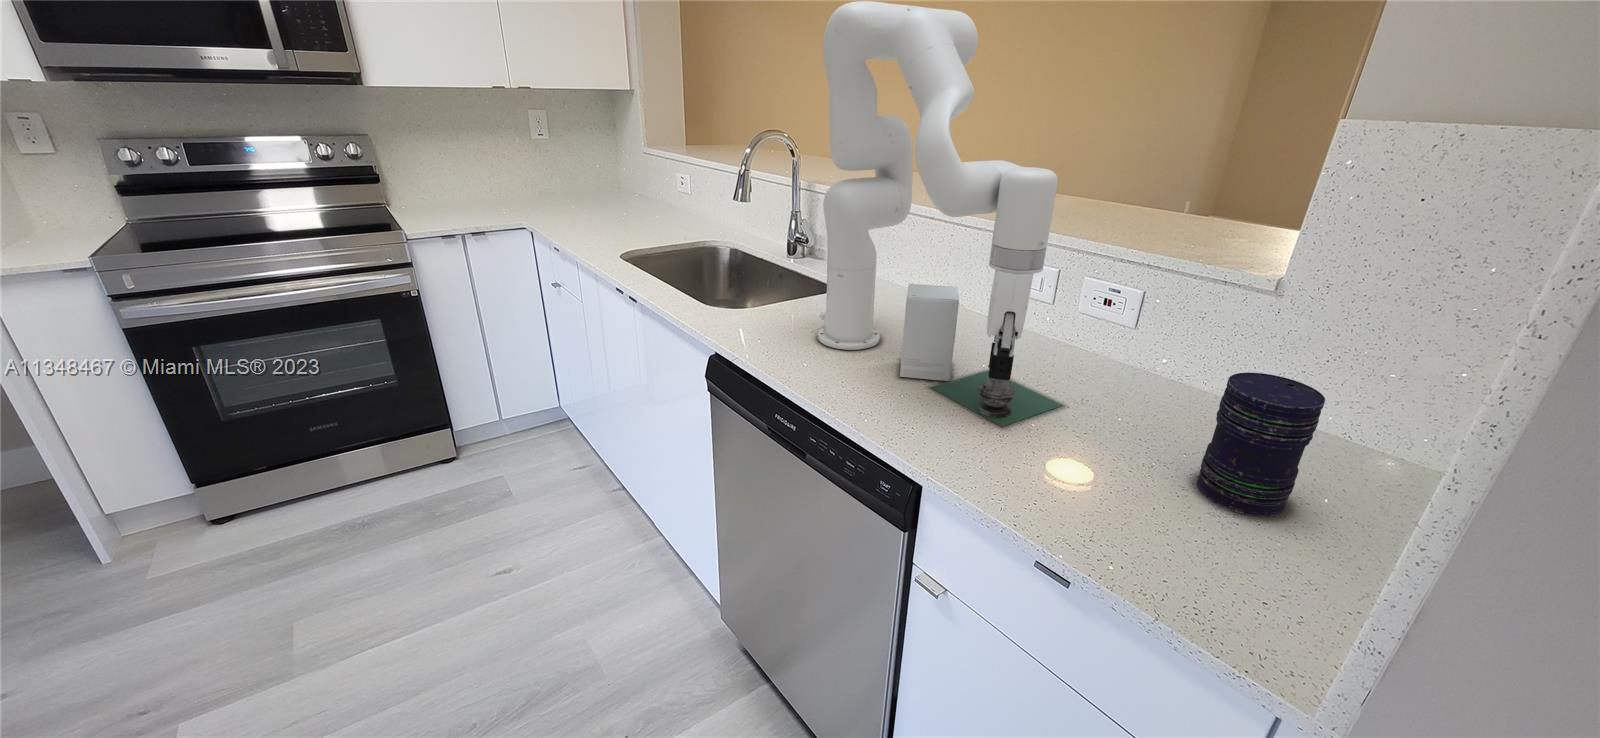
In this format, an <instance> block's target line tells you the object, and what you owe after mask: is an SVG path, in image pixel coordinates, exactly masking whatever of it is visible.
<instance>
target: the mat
mask: <svg viewBox="0 0 1600 738" xmlns="http://www.w3.org/2000/svg"><path fill="white" fill-rule="evenodd" d="M988 377H989V370H986V371H983V372H979V373H975V374H972V375H968V376H965V377H962V378H958V379H955V380H950V381H946V382H944V383H941V384H937V385H933V386H931V387H930V388H931V389H932V390H934V391H936V392H937V393H939V394H941V395H942V396H943V395H944V396H945V397H947V398H949V399H950V400H952V401H954V402H956V403H958V404H959V405H961V406H963V407H964V408H967V409H968V410H970V411H972V412H974V413H976V414H978V415H979V416H981V417H983V418H984V419H986V420H989V421H990V422H992V423H994V424H995V425H998V426H999V427H1001V428H1003V427H1007V426H1010V425H1012V424H1015V423H1017V422H1021V421H1023V420H1026V419H1029V418H1032V417H1034V416H1035V417H1036V416H1037V415H1041V414H1043V413H1046V412H1050V411H1052V410H1054V409H1057V408H1060V407H1063V404H1061V403H1059V402H1057V401H1054V400H1053V399H1051V398H1049V397H1046V396H1044V395H1042V394H1040V393H1038V392H1036V391H1033V390H1032V389H1030V388H1027V387H1025V386H1023V385H1021V384H1019V383H1016V382H1014V381H1012V380H1011V379H1010V380H1008V384H1009V386H1011V387H1013V388H1014V389H1015V391H1016V394H1015V396H1013V399H1012V401H1011V402H1010V403H1009V404H1008V405H1006V406H1007V407H1009V408H1010V410H1011V413H1010V414H1009V415H1008V416H1006V417H998V418H997V417H990V416H986V415H984V414H982V413H980V412H979V411H978V410H977V405H978V404H979V403H981V402H982V400H981V399H980V396H979V391H978V389H977V387H978V385H979V384H981V383H983V382H987V380H988Z"/></svg>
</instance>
